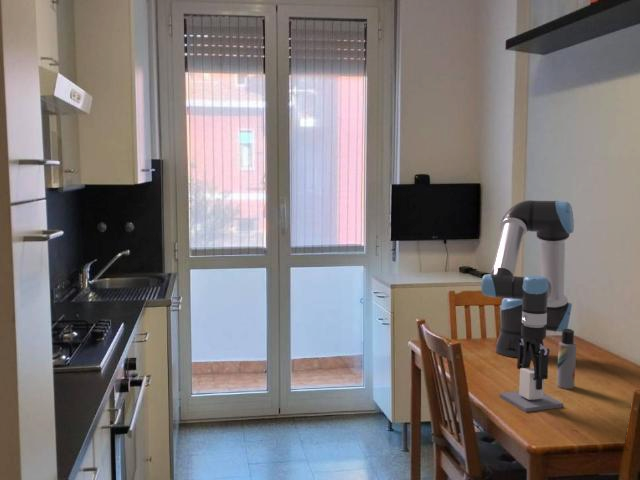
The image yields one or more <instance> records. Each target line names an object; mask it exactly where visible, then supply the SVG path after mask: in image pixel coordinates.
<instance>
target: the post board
mask: <svg viewBox="0 0 640 480" xmlns="http://www.w3.org/2000/svg"><path fill="white" fill-rule="evenodd" d="M499 398H501V399H503V400H504V401H506V402H507V403H509V404H511V405H512V406H515V408H518V409H519V410H521V411H523V412H524V413H527V412H536V411H544V410H551V409H552V410H553V409H559V408H564V402H561V401H560V400H558V399H556V398H554V397H552V396H550V395H548V394H546V393H544V392H543V398H541V399H531V400H528V399H527V398H525V397H523V396H521V395H519V390H517V391H508V392H499Z"/></svg>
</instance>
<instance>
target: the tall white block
mask: <svg viewBox="0 0 640 480" xmlns="http://www.w3.org/2000/svg"><path fill="white" fill-rule="evenodd" d="M538 376H539V375H538ZM533 378H535V374H534V366H532V367H531V366H530V368H520V369H519V384H518V385H519V389H518V391H519V395H521V396H523V397H525V398H527V399H528V400H531V399H532V394H533ZM544 380H545V379H543V380H542V390H541V398H543V393H544V382H545V381H544Z"/></svg>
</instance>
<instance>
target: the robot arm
mask: <svg viewBox="0 0 640 480" xmlns="http://www.w3.org/2000/svg"><path fill="white" fill-rule="evenodd" d="M574 222H575V219H574V212H573V207H572V205H571V203H570V202H568V201H560V200H532V199H530V200H528V199H527V200H524V201H520V202H518V203H516V204H514V205H513V206H512V207H510V208H509V209H508V211H507V212H506V213H504V216H503V217H502V219H501V222H500V229H499V230H500V232H501V234H500V237H499V240H498V244H497V247H496V253H495V257H494V261H493V264H492V268H491V272H490V273H488V274H484V275H483V276H482V278H481V293H482V295H483V296H484V297H491V298H498V299H499V298H501V299H502V300H501V307H500V332H499V335H498V338H497V340H496V341H497V342H496V343H495V347H494V349H495V353H497V354H498V355H501V356H506V357H509V358H517V359H516V360H517V361H516V362H517V363H516V369H518V370H520V368H530V367H531V364H532V365H533V366H532V367H534V374H535V378H533V394H532V399H541V390H542V380H543V379H544V380H547V379H548V377H549V376H548V373H549V372H548V371H549V354H550V348H546V347H545V346H544V341H543V340H544V339H545V338H546V337H547V331H548V332H554V333H556V332H560V333H562V330H564V329H569V323H570V317H571V314H572V313H571V311H572V305H573V304H572V303H571V302H569V299H568V297H567V295H565V259H566V258H565V251H566V248H565V247H566V244H565V243H566V241H567V240H568V239H569V238H570V234H572V233H574V230H575V229H574V228H575V225H574ZM527 232H535V233H536V238H537V239H539V240H540V275H526V276H518V275H517V276H515V272H516V268H517V263H518V259H519V255H520V249H521V245H522V241H523V237H524V236H525V235H526V233H527ZM531 362H532V363H531ZM538 375H539V376H538Z"/></svg>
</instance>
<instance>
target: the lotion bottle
mask: <svg viewBox="0 0 640 480" xmlns="http://www.w3.org/2000/svg"><path fill="white" fill-rule="evenodd" d="M574 338H575V330H573V329H571V328H568V329H564V330H562V332H561V341H560V342H558V346H557V347H558V352H557V354H558V355H557V369H556V370H557V372H556V386H557V387H558V388H560V389H565V390H572V389H574V388H575V384H576V383H575V382H576V381H575V380H576V362H577V361H576V360H577V344H576V343H574V342H575V339H574Z"/></svg>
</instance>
